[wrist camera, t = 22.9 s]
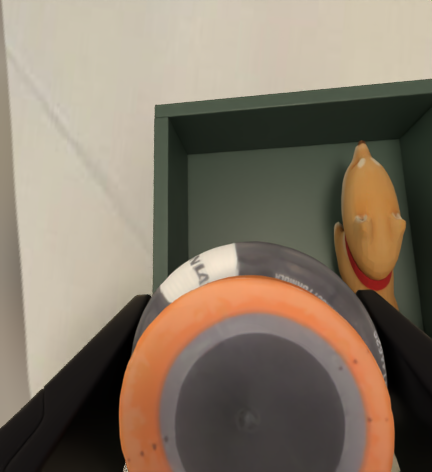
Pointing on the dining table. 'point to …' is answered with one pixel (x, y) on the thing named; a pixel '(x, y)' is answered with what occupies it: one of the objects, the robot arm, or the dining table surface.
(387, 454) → the pill bottle
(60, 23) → the dining table surface
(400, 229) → the toy
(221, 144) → the green storage tray
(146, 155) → the dining table surface
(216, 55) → the dining table surface
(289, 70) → the dining table surface
